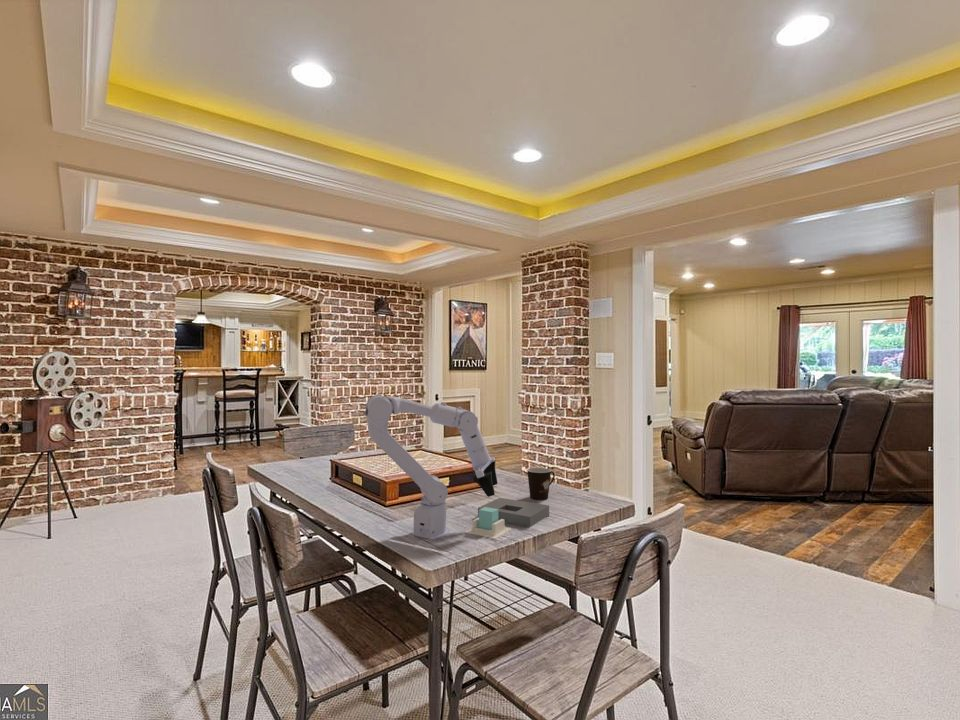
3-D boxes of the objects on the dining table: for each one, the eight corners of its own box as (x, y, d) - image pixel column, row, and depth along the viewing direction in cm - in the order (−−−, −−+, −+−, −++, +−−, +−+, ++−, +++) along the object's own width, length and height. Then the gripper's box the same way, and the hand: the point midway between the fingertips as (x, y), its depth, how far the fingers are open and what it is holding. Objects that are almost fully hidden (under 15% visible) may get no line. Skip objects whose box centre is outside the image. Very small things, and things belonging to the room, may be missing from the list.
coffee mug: (531, 501, 182) (531, 473, 182) (523, 495, 191) (524, 468, 191) (562, 499, 185) (562, 471, 185) (553, 493, 193) (553, 466, 193)
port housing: (530, 528, 153) (530, 516, 153) (477, 518, 162) (477, 507, 162) (549, 516, 165) (549, 505, 165) (499, 508, 174) (499, 497, 174)
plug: (492, 533, 147) (492, 512, 147) (478, 530, 149) (478, 509, 149) (498, 529, 150) (498, 509, 150) (484, 527, 152) (484, 506, 152)
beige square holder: (495, 540, 143) (495, 527, 143) (464, 533, 148) (464, 521, 148) (511, 530, 152) (512, 518, 152) (482, 524, 157) (482, 512, 157)
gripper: (485, 452, 145) (503, 496, 146) (491, 436, 159) (507, 476, 160) (462, 460, 146) (479, 503, 147) (470, 443, 160) (486, 483, 162)
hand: (492, 490), depth 154 cm, fingers open, 7 cm apart
